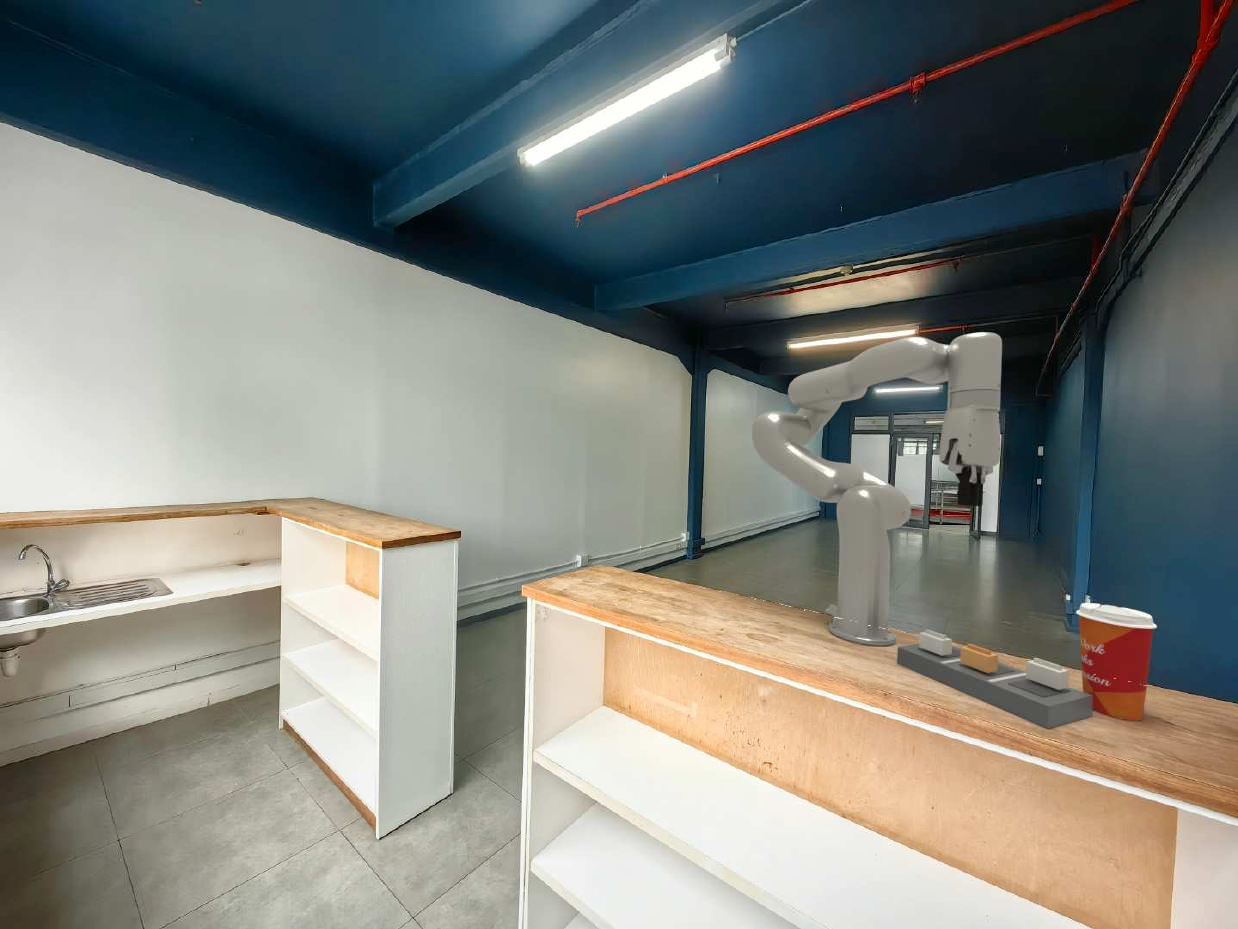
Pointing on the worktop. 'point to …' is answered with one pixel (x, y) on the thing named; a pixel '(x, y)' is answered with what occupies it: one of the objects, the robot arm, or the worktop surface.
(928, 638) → the switch
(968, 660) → the switch
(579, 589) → the worktop surface
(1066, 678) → the switch
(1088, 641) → the coffee cup
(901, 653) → the switch panel
